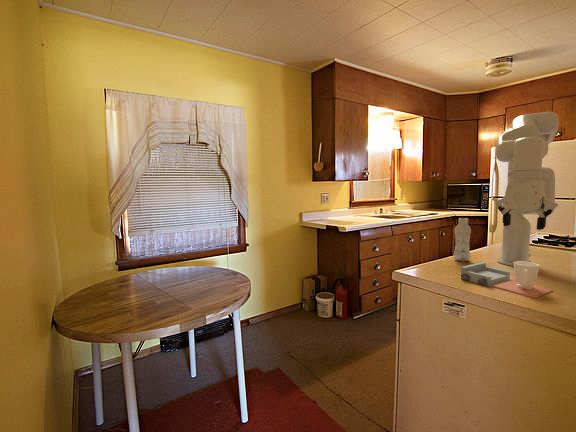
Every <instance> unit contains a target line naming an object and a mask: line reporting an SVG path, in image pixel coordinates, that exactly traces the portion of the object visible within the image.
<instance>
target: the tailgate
mask: <svg viewBox="0 0 576 432" xmlns="http://www.w3.org/2000/svg"><path fill="white" fill-rule="evenodd" d="M517 284H518V283H517V282H516V279H510V280H509V281H506V282H502V283H499V284H496V285H493V287H492V288H495V289H498V290H499V289H500V290H501V291H507V292H510V293H513V294H517V295H519V296H524V297H528V298H531V299H537V298H540V297H541V296H545V295H547V294H551V293H553V291H554V289H550V288H546V287H542V286H539V285H535V284H534V285H532V287H533V288H532V289H523V288H520V287H518V286H517Z"/></svg>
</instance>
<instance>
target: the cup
mask: <svg viewBox="0 0 576 432" xmlns="http://www.w3.org/2000/svg"><path fill="white" fill-rule="evenodd" d="M532 262H533V261H531V262H527V261H516V262H513V263H514V266H513V268H514V270H513V271H514V277H515V281H516V282H517V283H518V284H517V286H518V287H520V288H523V289H532V288H533V287H532V285H535V283H536V282H537V279H538V275H539V271H540V267H541V265H540V264H538V263H536V262H533V263H532Z"/></svg>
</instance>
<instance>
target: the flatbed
mask: <svg viewBox="0 0 576 432" xmlns="http://www.w3.org/2000/svg"><path fill="white" fill-rule="evenodd" d="M486 265H487V263H486V262H483V261H481V262H477V263H472V264H468V265H463V266H461V267H460V268H461V269H460V271H461V273H460V279H461V280H463V281H466V282H471V283H475V284H478V285H480V286H483V287H490V288H494V287H493V285H496V284H499V283H502V282H506V281H509V280H511V271H509V270H504V269H499V268H495V267H492V266H491V267H490V266H488V265H487V266H486Z"/></svg>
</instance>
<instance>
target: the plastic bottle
mask: <svg viewBox="0 0 576 432" xmlns="http://www.w3.org/2000/svg"><path fill="white" fill-rule="evenodd" d="M457 221H458V224H457V225H456V226H455V227H454V236H455V237H454V238H455V246H454V251H453V259H454V260H455V261H457V262H464V263H465V262H469V261H470V260H471V252H470V239H471V233H472V229H471V226H470V225H469V224H468V223H469V218H468V217H459V218H458V220H457Z"/></svg>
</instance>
